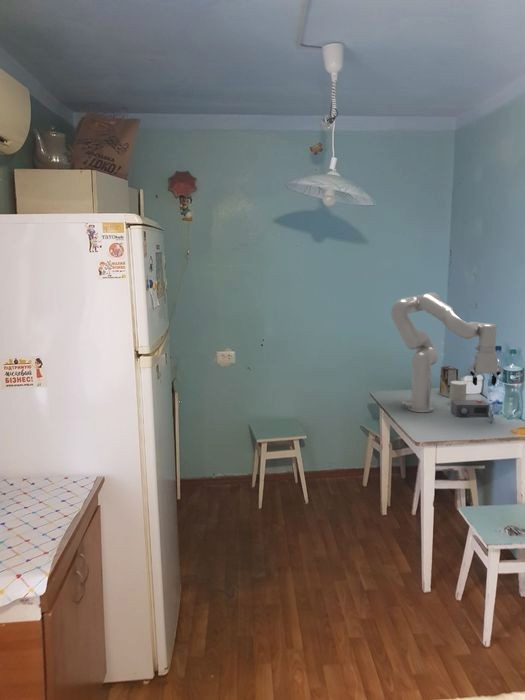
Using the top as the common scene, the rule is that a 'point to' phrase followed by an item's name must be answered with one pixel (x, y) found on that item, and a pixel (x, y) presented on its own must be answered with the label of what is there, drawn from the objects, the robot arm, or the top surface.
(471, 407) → the camera body
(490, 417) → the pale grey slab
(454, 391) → the cup
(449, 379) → the coffee box
